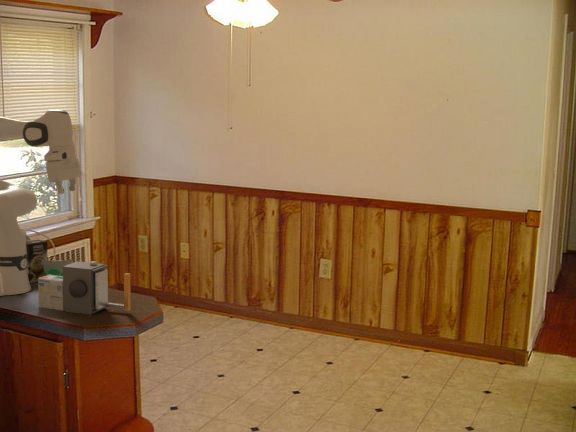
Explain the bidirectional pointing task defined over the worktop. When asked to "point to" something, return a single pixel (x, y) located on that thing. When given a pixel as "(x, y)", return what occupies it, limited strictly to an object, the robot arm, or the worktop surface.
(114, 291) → the worktop surface
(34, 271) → the coffee box
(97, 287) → the side door
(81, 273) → the camera body
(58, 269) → the food container
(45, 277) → the light bulb box
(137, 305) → the worktop surface
